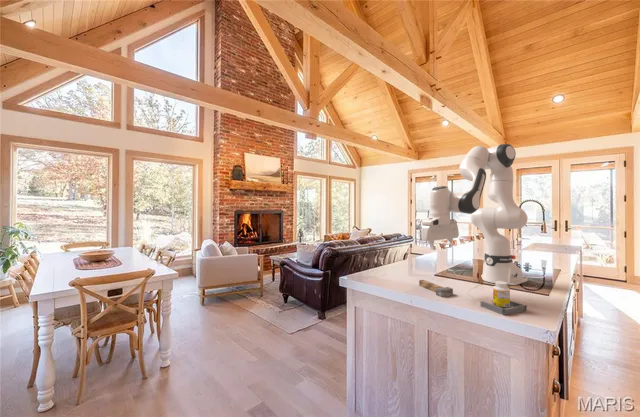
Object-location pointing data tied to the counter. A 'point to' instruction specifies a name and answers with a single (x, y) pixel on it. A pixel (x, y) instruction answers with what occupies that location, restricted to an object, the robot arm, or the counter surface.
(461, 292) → the counter surface
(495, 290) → the supplement bottle
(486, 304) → the frame
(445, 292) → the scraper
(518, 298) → the counter surface
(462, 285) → the counter surface
